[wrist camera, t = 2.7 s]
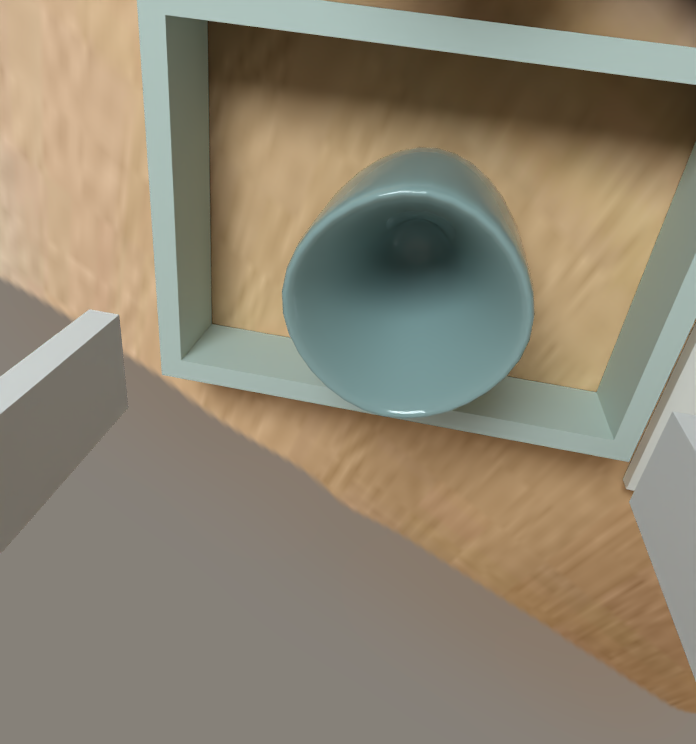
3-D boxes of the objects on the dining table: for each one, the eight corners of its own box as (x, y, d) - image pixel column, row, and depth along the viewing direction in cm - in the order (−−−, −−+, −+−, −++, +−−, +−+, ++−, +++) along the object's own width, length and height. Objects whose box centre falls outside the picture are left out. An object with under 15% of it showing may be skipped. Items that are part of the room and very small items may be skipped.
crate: (182, -16, 23) (135, -24, 20) (758, 56, 22) (814, 62, 18) (194, 337, 32) (161, 374, 28) (610, 412, 30) (629, 461, 26)
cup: (400, 330, 30) (375, 454, 21) (304, 202, 27) (231, 283, 19) (544, 246, 26) (582, 352, 18) (449, 91, 24) (442, 128, 15)
